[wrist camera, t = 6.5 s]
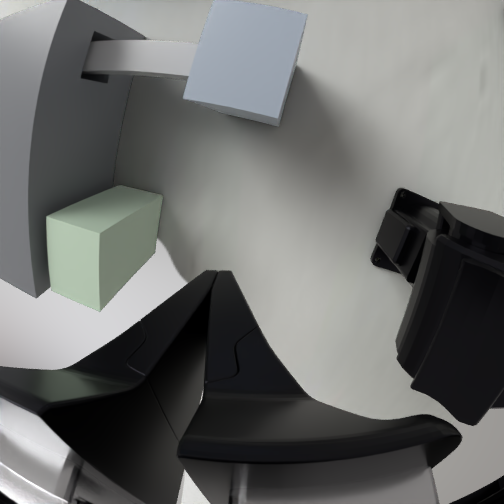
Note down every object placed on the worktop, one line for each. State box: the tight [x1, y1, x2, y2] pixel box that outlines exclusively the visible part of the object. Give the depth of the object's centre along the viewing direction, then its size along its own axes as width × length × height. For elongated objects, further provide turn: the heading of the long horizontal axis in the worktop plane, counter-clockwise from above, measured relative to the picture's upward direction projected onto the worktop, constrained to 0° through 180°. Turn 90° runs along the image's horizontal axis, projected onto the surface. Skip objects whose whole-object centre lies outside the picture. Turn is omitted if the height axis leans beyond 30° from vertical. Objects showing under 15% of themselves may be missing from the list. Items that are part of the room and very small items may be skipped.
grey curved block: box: [0, 0, 145, 298], centre depth 16 cm, size 8×18×10 cm, turn 165°
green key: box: [46, 185, 163, 312], centre depth 18 cm, size 14×5×9 cm, turn 75°
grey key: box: [81, 0, 308, 127], centre depth 14 cm, size 16×5×9 cm, turn 75°
